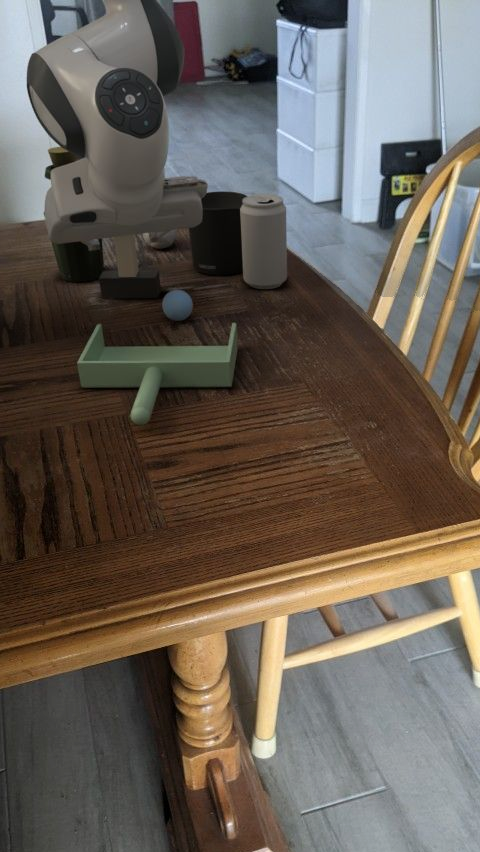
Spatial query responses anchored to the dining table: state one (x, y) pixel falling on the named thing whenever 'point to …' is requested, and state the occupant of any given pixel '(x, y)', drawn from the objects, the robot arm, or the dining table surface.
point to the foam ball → (177, 305)
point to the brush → (128, 274)
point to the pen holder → (218, 235)
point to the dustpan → (155, 368)
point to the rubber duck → (165, 242)
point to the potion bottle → (74, 255)
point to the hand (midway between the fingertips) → (124, 241)
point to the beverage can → (264, 240)
